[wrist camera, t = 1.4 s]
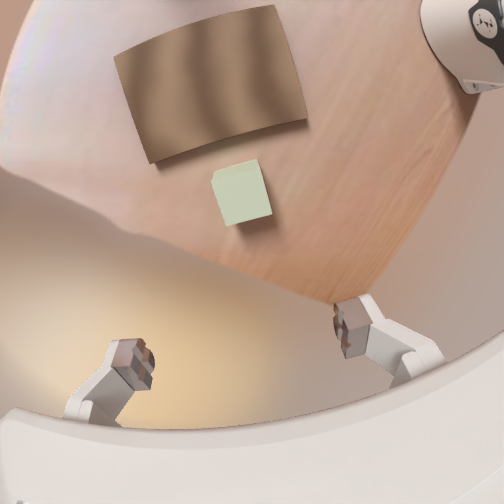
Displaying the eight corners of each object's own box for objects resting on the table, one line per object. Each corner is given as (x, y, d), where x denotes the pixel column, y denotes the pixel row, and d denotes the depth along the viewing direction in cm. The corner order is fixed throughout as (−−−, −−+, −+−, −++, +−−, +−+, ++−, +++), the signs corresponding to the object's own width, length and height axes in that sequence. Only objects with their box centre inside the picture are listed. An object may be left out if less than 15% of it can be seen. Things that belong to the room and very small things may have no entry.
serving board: (272, 8, 20) (274, 4, 19) (304, 117, 27) (308, 117, 26) (118, 58, 22) (113, 57, 20) (153, 161, 29) (149, 164, 28)
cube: (256, 158, 30) (260, 168, 25) (267, 197, 32) (272, 214, 28) (214, 170, 30) (211, 182, 26) (227, 208, 33) (226, 226, 28)
